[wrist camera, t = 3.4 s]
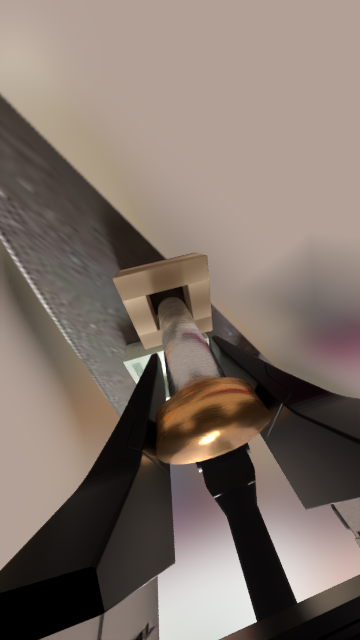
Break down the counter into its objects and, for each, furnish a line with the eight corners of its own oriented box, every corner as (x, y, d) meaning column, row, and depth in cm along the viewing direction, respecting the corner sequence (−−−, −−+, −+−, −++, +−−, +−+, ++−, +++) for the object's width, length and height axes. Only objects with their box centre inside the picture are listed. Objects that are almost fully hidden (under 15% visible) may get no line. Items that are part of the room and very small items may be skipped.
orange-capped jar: (194, 321, 16) (261, 440, 6) (157, 331, 15) (172, 472, 6) (188, 285, 13) (282, 389, 4) (145, 296, 13) (137, 438, 4)
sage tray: (206, 370, 28) (213, 385, 25) (150, 387, 27) (150, 405, 24) (200, 324, 22) (208, 337, 19) (126, 344, 21) (123, 362, 18)
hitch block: (202, 315, 21) (212, 330, 17) (145, 331, 20) (145, 349, 17) (194, 252, 16) (207, 255, 13) (120, 270, 15) (112, 278, 12)
